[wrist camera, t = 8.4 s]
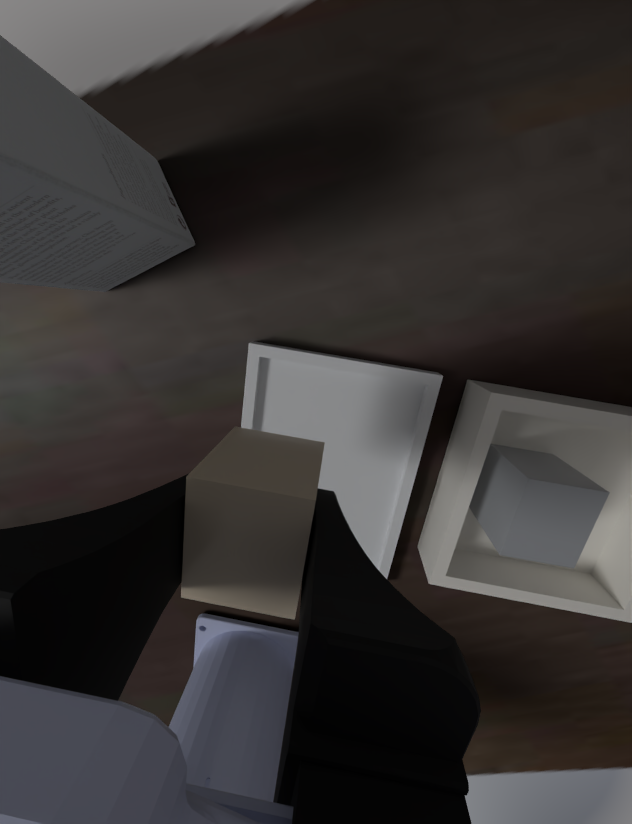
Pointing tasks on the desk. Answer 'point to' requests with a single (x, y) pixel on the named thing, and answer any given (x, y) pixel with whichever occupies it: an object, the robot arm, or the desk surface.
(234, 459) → the taupe rectangular block
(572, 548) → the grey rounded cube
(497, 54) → the desk surface
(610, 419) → the dish
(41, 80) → the skincare box
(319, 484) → the parts tray
